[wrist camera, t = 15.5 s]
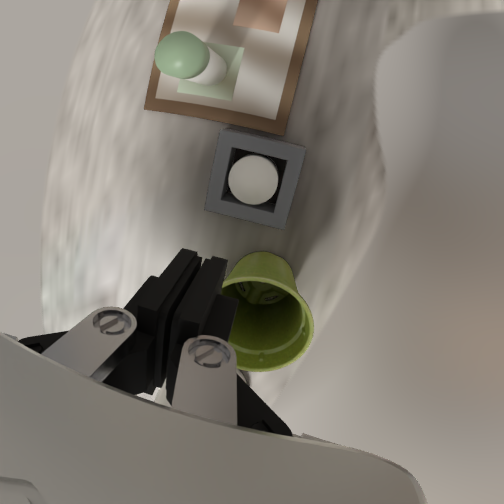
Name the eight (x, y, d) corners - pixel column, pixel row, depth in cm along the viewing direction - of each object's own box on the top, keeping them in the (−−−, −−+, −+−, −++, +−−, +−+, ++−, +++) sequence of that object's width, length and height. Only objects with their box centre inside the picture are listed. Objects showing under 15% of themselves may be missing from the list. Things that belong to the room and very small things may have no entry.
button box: (284, 219, 29) (284, 230, 27) (211, 201, 29) (204, 209, 27) (304, 146, 26) (306, 150, 24) (226, 128, 27) (220, 129, 24)
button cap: (272, 202, 28) (271, 209, 26) (229, 191, 28) (224, 198, 26) (283, 159, 27) (283, 163, 24) (238, 148, 27) (234, 151, 24)
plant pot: (201, 253, 32) (173, 300, 24) (288, 219, 29) (287, 260, 22) (241, 324, 35) (227, 380, 27) (321, 299, 33) (328, 355, 25)
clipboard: (283, 135, 26) (283, 136, 25) (146, 109, 26) (140, 109, 25) (323, -24, 19) (325, -29, 18) (186, -40, 19) (182, -46, 18)
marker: (223, 89, 24) (195, 79, 17) (189, 83, 24) (149, 74, 17) (231, 56, 23) (207, 33, 15) (197, 51, 23) (160, 29, 15)
